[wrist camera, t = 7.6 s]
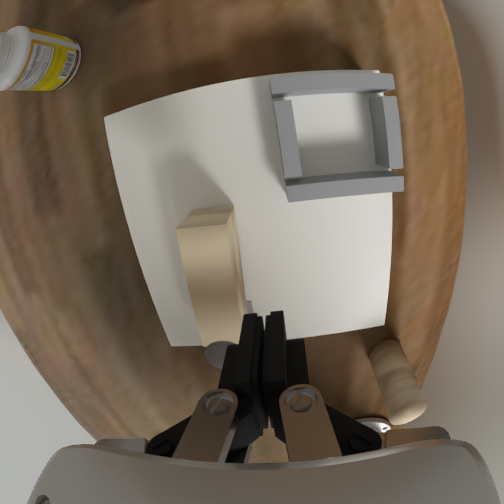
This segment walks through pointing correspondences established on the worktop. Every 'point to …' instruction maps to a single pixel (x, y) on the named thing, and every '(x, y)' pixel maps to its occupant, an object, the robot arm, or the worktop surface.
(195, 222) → the beige angular block
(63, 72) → the supplement bottle
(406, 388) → the loose leg
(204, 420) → the robot arm
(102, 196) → the worktop surface
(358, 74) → the white board with frame
